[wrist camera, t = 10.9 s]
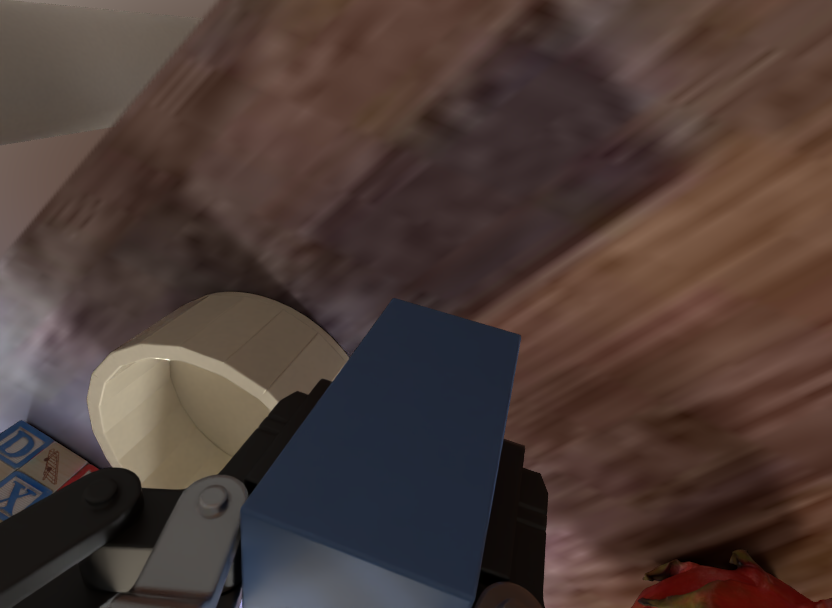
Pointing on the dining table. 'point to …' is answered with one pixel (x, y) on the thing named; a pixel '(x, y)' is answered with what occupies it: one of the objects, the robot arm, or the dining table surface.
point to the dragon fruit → (720, 587)
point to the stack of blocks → (34, 468)
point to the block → (387, 473)
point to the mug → (203, 384)
